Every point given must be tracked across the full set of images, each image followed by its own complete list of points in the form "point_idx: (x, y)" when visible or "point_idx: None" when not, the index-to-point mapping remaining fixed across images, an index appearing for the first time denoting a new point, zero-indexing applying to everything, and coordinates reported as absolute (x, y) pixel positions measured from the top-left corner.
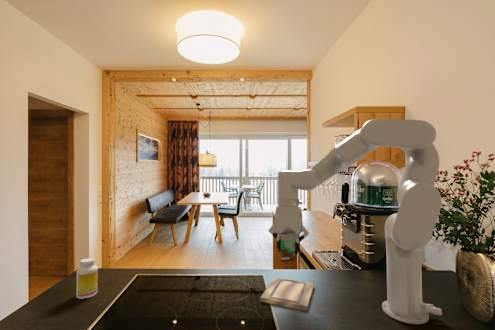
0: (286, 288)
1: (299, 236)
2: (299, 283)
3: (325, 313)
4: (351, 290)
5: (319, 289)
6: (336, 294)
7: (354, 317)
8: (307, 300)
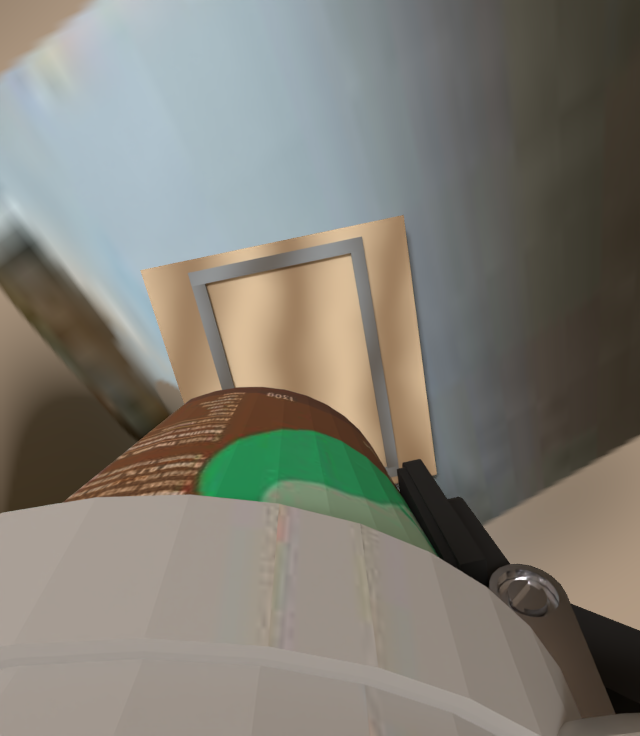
0: (285, 373)
1: (597, 689)
2: (323, 268)
3: (499, 439)
4: (602, 129)
5: (430, 227)
6: (525, 236)
7: (607, 405)
8: (424, 429)
